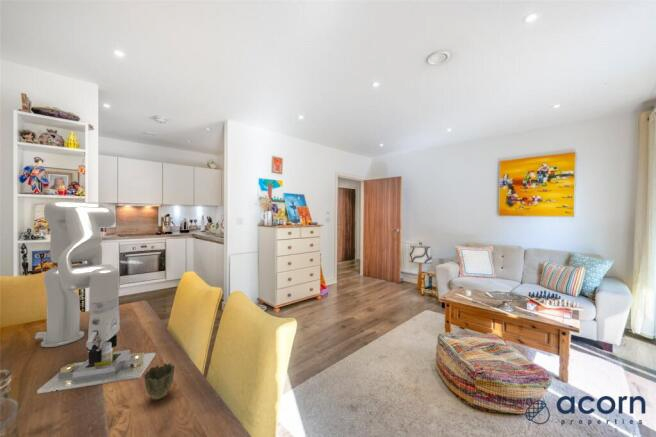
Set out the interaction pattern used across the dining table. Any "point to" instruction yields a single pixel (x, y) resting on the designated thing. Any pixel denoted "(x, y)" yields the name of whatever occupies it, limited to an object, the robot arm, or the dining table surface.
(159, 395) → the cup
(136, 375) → the gray plate
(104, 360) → the supplement bottle
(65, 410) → the dining table surface
